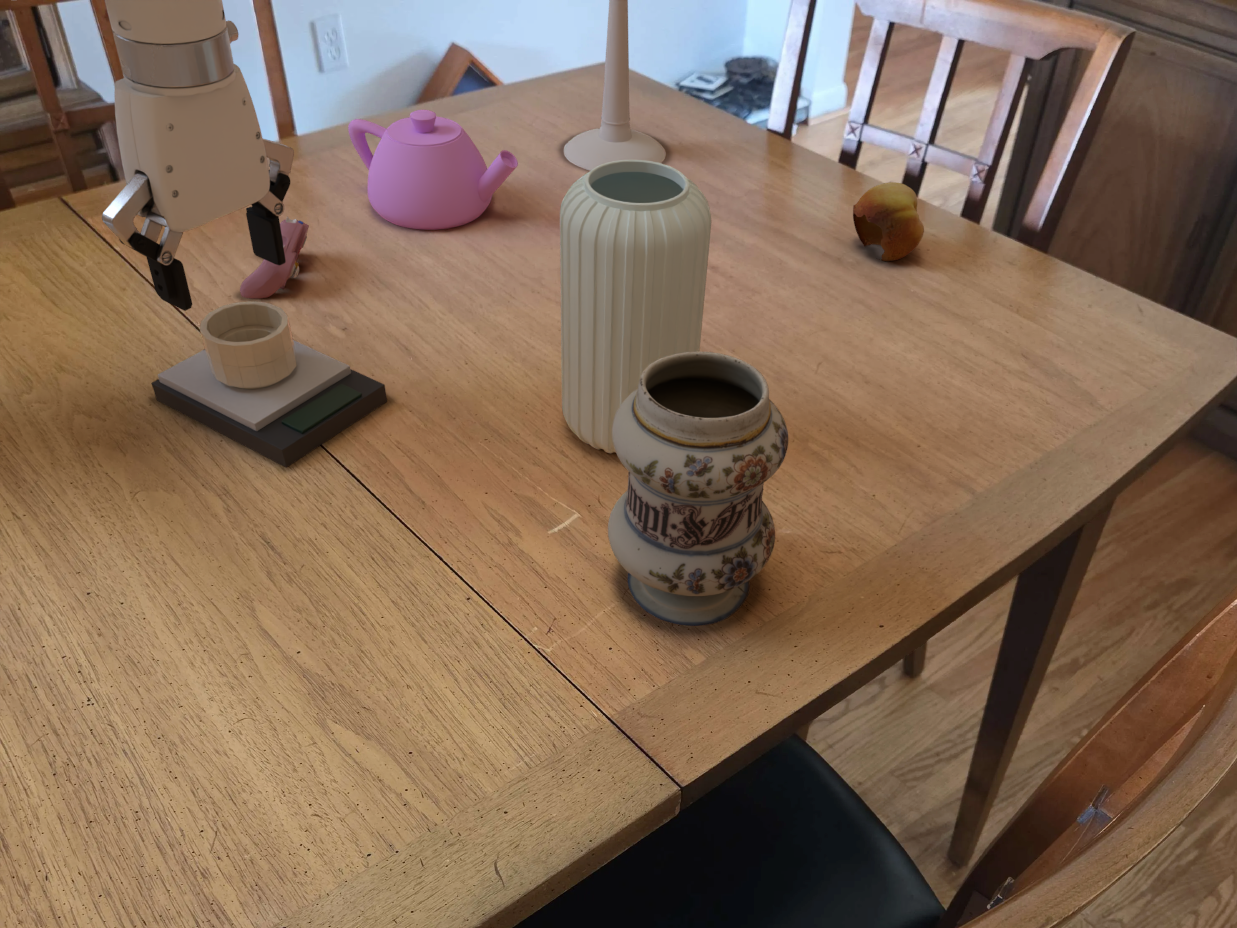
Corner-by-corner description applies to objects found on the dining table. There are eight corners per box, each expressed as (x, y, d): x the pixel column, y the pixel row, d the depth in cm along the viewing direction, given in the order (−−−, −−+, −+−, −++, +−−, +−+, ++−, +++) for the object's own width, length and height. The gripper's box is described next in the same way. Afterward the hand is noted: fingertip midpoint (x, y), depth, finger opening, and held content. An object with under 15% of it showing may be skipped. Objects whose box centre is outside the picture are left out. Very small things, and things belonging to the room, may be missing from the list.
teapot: (495, 254, 118) (489, 154, 111) (329, 220, 122) (313, 122, 114) (543, 202, 127) (541, 106, 120) (388, 172, 131) (376, 78, 124)
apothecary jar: (713, 519, 89) (736, 319, 76) (796, 613, 82) (837, 410, 69) (579, 563, 85) (579, 358, 72) (654, 666, 77) (669, 460, 64)
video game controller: (281, 319, 110) (301, 262, 106) (235, 299, 109) (254, 240, 104) (301, 271, 117) (321, 216, 113) (258, 252, 115) (277, 194, 111)
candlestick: (557, 138, 140) (553, -145, 119) (655, 134, 142) (669, -144, 121) (571, 181, 132) (570, -116, 110) (675, 177, 134) (694, -115, 112)
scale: (158, 406, 97) (148, 374, 94) (262, 348, 104) (255, 317, 101) (287, 473, 91) (280, 441, 88) (388, 407, 98) (383, 376, 96)
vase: (716, 448, 96) (744, 198, 80) (600, 485, 91) (605, 229, 75) (650, 381, 102) (664, 139, 86) (539, 413, 98) (532, 164, 82)
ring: (195, 374, 95) (181, 326, 91) (258, 339, 99) (247, 292, 96) (253, 402, 92) (241, 354, 89) (315, 365, 96) (305, 318, 93)
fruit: (897, 282, 118) (914, 209, 112) (830, 257, 121) (843, 185, 115) (929, 256, 122) (947, 185, 116) (864, 233, 125) (878, 163, 120)
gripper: (234, 14, 84) (272, 230, 96) (32, 72, 73) (104, 306, 85) (305, 39, 81) (335, 257, 93) (106, 103, 71) (169, 339, 83)
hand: (224, 280), depth 89 cm, fingers open, 9 cm apart
